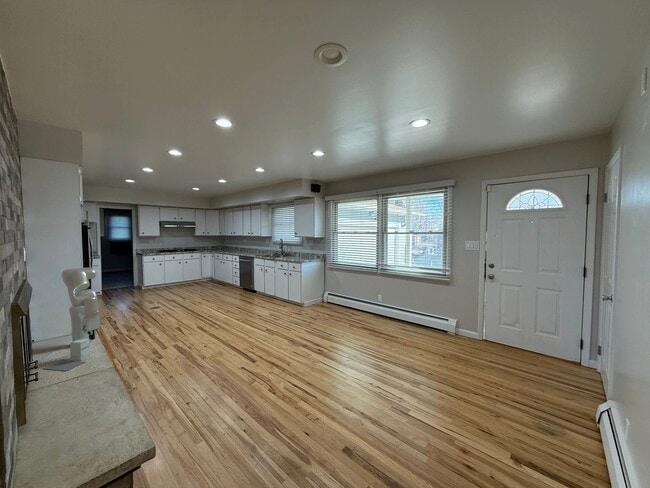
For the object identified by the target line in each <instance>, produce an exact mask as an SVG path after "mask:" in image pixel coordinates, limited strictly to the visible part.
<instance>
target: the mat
mask: <svg viewBox="0 0 650 488" xmlns="http://www.w3.org/2000/svg"><path fill="white" fill-rule="evenodd" d="M86 363H87V362H86V361H82V360H81V361H71V360H67V359H63V360H60V361H58V362H56V363H53V364H50V365H47V366H46V367H45V366H44V367H43V368H42V369H43V370H48V371H49V370H50V371H59V372H68V371H70V370H72V369H75V368H78V367H80V366H82V365H83V364H86Z"/></svg>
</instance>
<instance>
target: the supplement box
mask: <svg viewBox="0 0 650 488" xmlns="http://www.w3.org/2000/svg"><path fill="white" fill-rule="evenodd" d="M69 350H70V351H69V353H70V354H69V357H70V358H69V359H70V361H81V362H82V361H83V360H85V359H87V358H89V357H90V354H91V353H90V351H91V349H90V343H89V339H78V340H75V341H73V342H72V341H71V342H69Z"/></svg>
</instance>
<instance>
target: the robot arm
mask: <svg viewBox="0 0 650 488" xmlns="http://www.w3.org/2000/svg"><path fill="white" fill-rule="evenodd" d="M96 277H97V272H96V270H95V269H94V268H93V267H77V268H76V267H75V268H69V269H68V268H67V269H64V270H63V271H62V272H61V278H62V281H63V283H64V285H65V287H66V288H67V292H68V298H69V301H70V303H71V306H70V307H69V310H68V312H69V315H70V322H71V342H73V341H75V340H78V339H89V344H90V343H92V341H93V340H95V339H96V333H97V331H98V330H100V329H101V319H100V315H99V313H100V310H99V309H100V305H99V300H98V297H97V292H96V291H95V290H94V289H91V288H90V289H89V287H90V281H89V280H93V279H95V278H96Z"/></svg>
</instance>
